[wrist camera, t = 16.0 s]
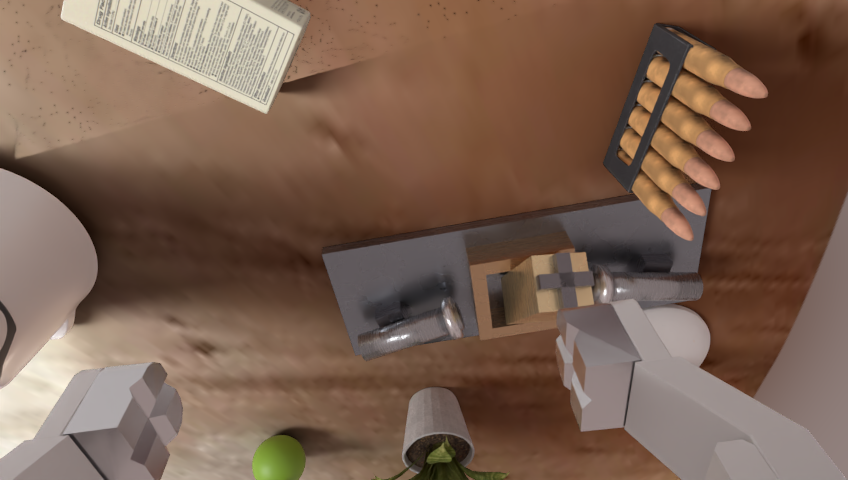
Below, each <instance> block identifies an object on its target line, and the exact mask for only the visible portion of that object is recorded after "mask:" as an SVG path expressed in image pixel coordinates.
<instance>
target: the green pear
mask: <svg viewBox="0 0 848 480" xmlns="http://www.w3.org/2000/svg"><path fill="white" fill-rule="evenodd" d="M305 460H306V459H305V452H304V450H303V447H302V446H301V444H300V443H299V442H298V441H297V440H296V439H294V438H292V437H290V436H287V435H276V436H273V437H270V438H268V439H267V440H265V441H264V442H263V443H262V444H261V445H260V446H259V447H258V449H257V450H256V452H255V454H254V457H253V462H252V469H253V474H254V476H255V479H256V480H298V479H299V478H300V477H301V475H302V473H303V471H304V468H305Z"/></svg>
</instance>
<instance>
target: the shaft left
mask: <svg viewBox="0 0 848 480" xmlns="http://www.w3.org/2000/svg"><path fill="white" fill-rule="evenodd" d="M440 303H441V307H439V308H436V309H433V310H430V311H427V312H424V313H421V314H419V315H416V316H413V317H410V318H409V317H408V315H407V313H406V311H405V309H404V308H403V306H402V304H401V302H400V301H399V302H396V303H393V304H390V305H387V306H384V307H381V308H378V309H375V320H376V322H377V324H378V325H379V327H380V328H377V329H374V330H371V331H368V332H365V333H362V334H359V335H358V347H359V350H360V353H361V355H362V357H363V358H364V360H366V361H369V360H372V359H375V358H378V357H381V356H384V355H387V354H390V353H393V352H396V351H399V350H402V349H405V348H408V347H412V346H415V345H418V344H421V343H424V342H427V341H430V340H433V339H436V338H439V337H442V336H445V335H448V334H450V335H451V337H452V338H453V339H454V340H456V339H459V338H462V337H464V331H463V329H465V325H464V320H463V317H462V314H461V311H460V309H459V306H458V304H457V303H456V302H454V301H453V299H452V298H451V297H447V298H444V299H441V301H440Z"/></svg>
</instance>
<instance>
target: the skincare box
mask: <svg viewBox="0 0 848 480" xmlns="http://www.w3.org/2000/svg"><path fill="white" fill-rule="evenodd" d="M61 19H62V20H64V21H66V22H68V23H71V24H73V25H75V26H77V27H79V28H81V29H83V30H86V31H88V32H90V33H92V34H94V35H97V36H99V37H101V38H103V39H105V40H107V41H109V42H112V43H114V44H116V45H118V46H120V47H122V48H125V49H127V50H129V51H131V52H133V53H136V54H138V55H140V56H142V57H144V58H146V59H148V60H151V61H153V62H155V63H157V64H159V65H161V66H163V67H166V68H168V69H170V70H172V71H174V72H176V73H179V74H181V75H183V76H185V77H187V78H190V79H192V80H194V81H196V82H198V83H200V84H203V85H205V86H207V87H209V88H211V89H213V90H215V91H218V92H220V93H222V94H224V95H226V96H228V97H231V98H233V99H235V100H237V101H239V102H241V103H244V104H246V105H248V106H250V107H252V108H254V109H257V110H259V111H261V112H263V113H265V114H267V113H268V111H269V110H270V109H271V107H272V105H273V103H274V101H275V99H276V97H277V95H278V92H279V90H280V88H281V86H282V83H283V81H284V79H285V77H286V74H287V72H288V70H289V68H290V65H291V63H292V61H293V58H294V56H295V54H296V51H297V49H298V47H299V44H300V42H301V40H302V38H303V35H304V33H305V30H306V28H307V25H308V23H309V20H310V12H308V11H307V10H305V9H303V8H301V7H299V6H297V5H295V4H294V3H292V2H290V1H288V0H64V3H63V8H62V13H61Z"/></svg>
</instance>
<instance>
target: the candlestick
mask: <svg viewBox="0 0 848 480" xmlns="http://www.w3.org/2000/svg"><path fill="white" fill-rule="evenodd" d="M642 310H643V312H644V313H645V315H646V316H647V318H648V320H649V321H650V323H651V324H652V326H653V328H654V329H655V331H656V332H657V334H658V336H659V337H660V339H661V340H662V342H663V343H664V345H665V347H666V348H667V350H668V351H669V353H670V355H671V356H672V357H682V358H683V359H685V360H687V361H689V362H690V363H692V364H694V365H696V366H697V367H699V366H700V365H701V364H702V362H703V361H704V359H705V357H706V355H707V353H708V350H709V346H710V333H709V329H708V327H707V325H706V324H705V322H704V321H703V319H702V318H701V317H700V316H699V315H698V314H697V313H696V312H694V311H692V310H691V309H689V308H686V307H683V306H680V305H675V304H665V305H659V306H653V307H647V308H642Z"/></svg>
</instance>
